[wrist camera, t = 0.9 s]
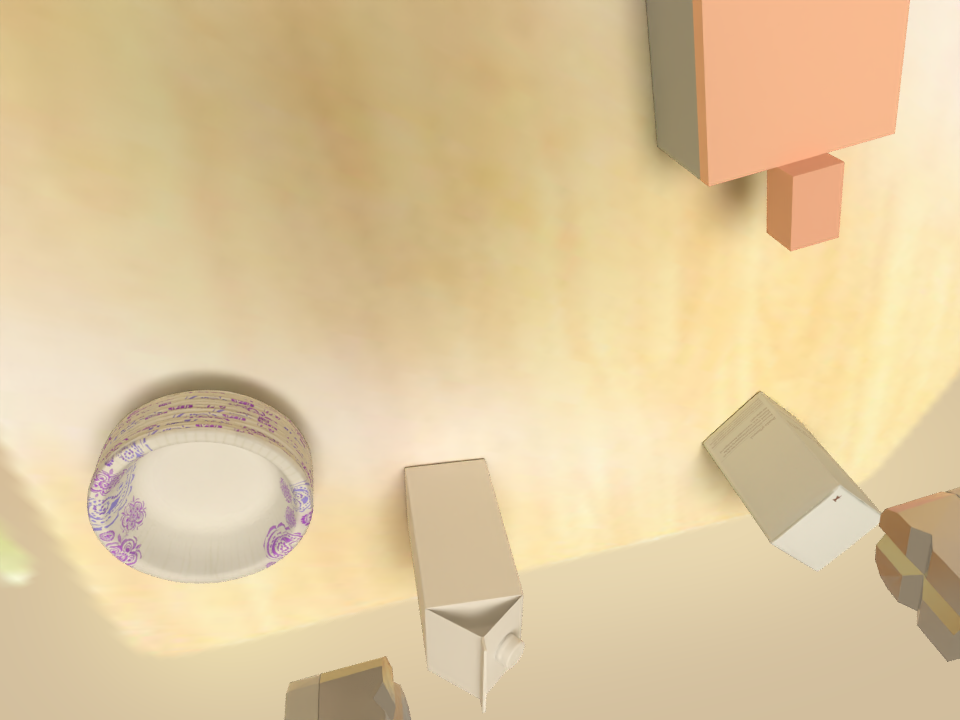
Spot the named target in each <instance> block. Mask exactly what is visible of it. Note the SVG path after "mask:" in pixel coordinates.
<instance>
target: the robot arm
mask: <svg viewBox="0 0 960 720" xmlns="http://www.w3.org/2000/svg"><path fill="white" fill-rule="evenodd" d="M879 527H880V528H881V529H882V530H883V531H884V532H885V533H886V534H885V535H884V536H883V538H882V539H881V540H880V541H879V542H878V543H877V545H876V554H875V560H876V564H877V567H878V570H879V574H880V576H881V578H882V580H883V582H884V583H885V585H886V587H887V588H888V590H889V591H890V592H891V594H892V595H893V596H894V597H895V599H896V600H897V601H898V602H899V603H902V604H904V605H906V606H908V607H910V608H912V609H914V610H916V611H917V625H918V626H919V628H920V629H921V630H922V632H923V633H924V634H925V635H926V636H927V638H928V639H929V640H930V641H931V642H932V644H933V645H934V646H935V647H936V648H937V650H938V651H939V652H940V653H941V654H942V656H943V657H944V658H945V659H946V660H947V662H948V661H952V660H956V659H960V487H959V488H956V489H952V490H949V491H946V492H939V493H936V494H932V495H929V496H926V497H923V498H919V499H916V500H913V501H910V502H906V503H904V504H900V505H897V506H894V507H890V508H887V509H885V510H884V511H883V513H882V514H881V515H880V522H879ZM392 672H393V671H392V667H391V665H390V663H389V661H388V659H387V657H386V656H385V657H382V658H378V659H374V660H370V661H366V662H363V663H359V664H355V665H352V666H348V667H344V668H340V669H337V670H333V671H330V672H326V673H321V674H318V675H314V676H311V677H308V678H304V679H300V680H297V681H294V682H290V684H289V687H288V690H287V693H286V703H285V720H411V717H410V712H409V707H408V704H407V701H406V698H405V695H404V692H403V691H402V688H401V686H400V685H399V684H397V683H395V682H393V673H392Z"/></svg>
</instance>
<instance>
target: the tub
mask: <svg viewBox="0 0 960 720" xmlns="http://www.w3.org/2000/svg"><path fill="white" fill-rule="evenodd" d="M646 7H647V20H648V33H649V46H650V58H651V71H652V84H653V97H654V110H655V122H656V135H657V147H659V148H660V149H661V150H662V151H664V152H665V153H666V154H668V155H669V156H670V157H671V158H673V159H674V160H675V161H677V162H678V163H679V164H680V165H682V166H683V167H684V168H686V169H687V170H688V171H689V172H691V173H692V174H693V175H695V176H696V177H697V178H698V179H700V161H699V138H698V116H697V94H696V71H695V49H694V26H693V4H692V0H646Z"/></svg>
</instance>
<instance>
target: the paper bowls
mask: <svg viewBox="0 0 960 720" xmlns="http://www.w3.org/2000/svg"><path fill="white" fill-rule="evenodd" d="M87 500H88V501H87V508H88V516H89V521H90V523H91V526H92V528H93V531H94V532H95V534H96V536H97V537H98V539H99V540H100V541H101V543H102V544H103V545H104V546H105V548H106V549H107V550H108V551H109V552H110V553H111V554H112V555H114V556H115V557H116V558H117V559H119V560H120V561H122V562H123V563H125V564H127V565H128V566H130V567H131V568H134V569H136V570H138V571H140V572H143V573H145V574H148V575H151V576H154V577H157V578H161V579H165V580H169V581H175V582H183V583H218V582H224V581H229V580H234V579H238V578H242V577H245V576H248V575H251V574H254V573H256V572H259V571H261V570H264V569H265V568H268V567H269V566H271V565H273V564H275V563H276V562H278V561H279V560H280V559H282V558H283V557H284V556H285V555H287V554H288V553H289V552H290V551H291V550H292V549H293V548H294V547H295V546H296V545H297V544H298V542H299V541H300V540H301V539H302V537H303V535H304V534H305V533H306V530H307V529H308V526H309V524H310V521H311V517H312V513H313V470H312V460H311V455H310V451H309V447H308V445H307V443H306V441H305V439H304V437H303V435H302V434H301V432H300V430H299V429H298V428H297V427H296V426H295V425H294V423H293V422H292V421H291V420H289V418H288V417H286V416H284V415H283V414H282V413H280V412H279V411H277V410H276V409H274V408H273V407H271V406H269V405H267V404H265V403H263V402H261V401H259V400H256V399H254V398H251V397H249V396H245V395H242V394H238V393H234V392H229V391H220V390H196V391H186V392H180V393H174V394H170V395H166V396H163V397H160V398H158V399H155V400H153V401H151V402H149V403H147V404H144V405H143V406H141V407H139V408H137V409H136V410H134V411H132V412H131V413H130V414H128V415H127V416H126V417H125V418H124V419H123V420H122V421H121V422H120V423H119V424H118V425H117V426H116V427H115V428H114V430H113V431H112V433H111V434H110V436H109V438H108V440H107V441H106V443H105V445H104V447H103V449H102V452H101V455H100V457H99V460H98V463H97V465H96V469H95V472H94V474H93V477H92V480H91V483H90V486H89V489H88V498H87Z"/></svg>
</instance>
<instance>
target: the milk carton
mask: <svg viewBox="0 0 960 720" xmlns="http://www.w3.org/2000/svg"><path fill="white" fill-rule="evenodd" d="M405 487H406V504H407V520H408V529H409V537H410V544H411V551H412V559H413V566H414V573H415V581H416V588H417V595H418V603H419V610H420V617H421V625H422V632H423V639H424V647H425V654H426V661H427V668H428V670H429V671H430V672H432V673H434V674H436V675H437V676H439V677H441V678H443V679H445V680H447V681H448V682H450V683H452V684H454V685H455V686H458V687H459V688H461V689H463V690H464V691H466V692H468V693H470V694H472V695H473V696H475V697H477V698H479V699H480V702H481V707H482V712H483V713H484V712H485V711H486V694H487V693H488V692H489V691H490V690H491V688H492V687H493V686H494V685H495V684H496V682H497V681H498V680H499V679H500V678H501V676H503V674H504V673H505V672H506V671H507V670H508V669H511V668H512V667H513V666H514V665H515V664H516V663H517V662H518V661H519V659H520V658H521V656H522V654H523V651H524V646H525V645H524V642H523V641H522V640H521V626H522V611H523V592H522V587H521V584H520V581H519V577H518V573H517V570H516V566H515V563H514V559H513V556H512V552H511V549H510V545H509V542H508V538H507V535H506V531H505V528H504V524H503V521H502V517H501V514H500V510H499V507H498V503H497V500H496V496H495V493H494V489H493V486H492V482H491V479H490V475H489V472H488V468H487V465H486V461H485V459H480V460H471V461H462V462H453V463H444V464H435V465H426V466H417V467H409V468H405Z"/></svg>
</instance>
